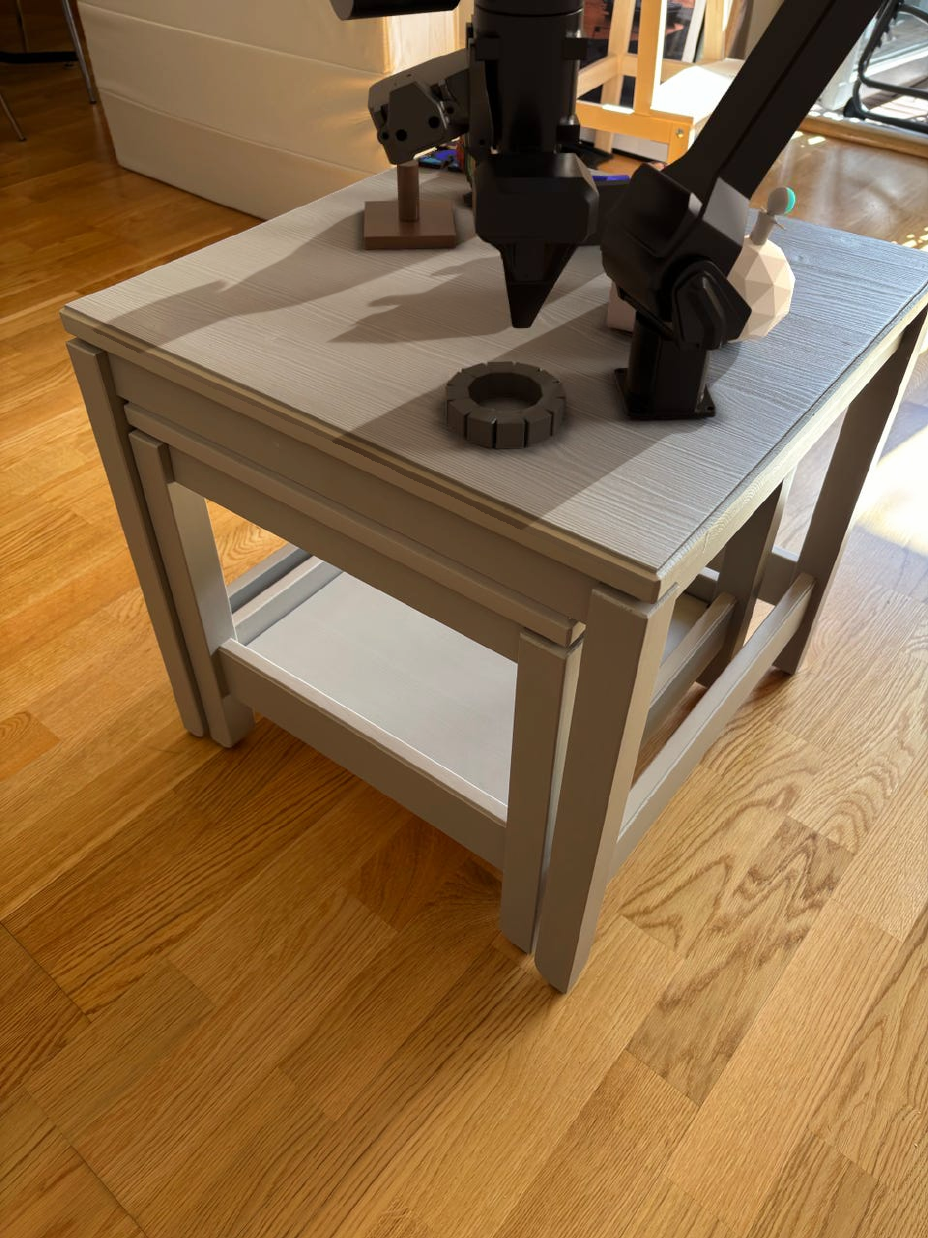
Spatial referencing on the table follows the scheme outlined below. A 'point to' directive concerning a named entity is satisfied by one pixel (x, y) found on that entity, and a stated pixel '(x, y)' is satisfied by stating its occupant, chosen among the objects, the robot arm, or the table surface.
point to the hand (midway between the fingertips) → (514, 291)
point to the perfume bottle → (764, 270)
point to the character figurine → (610, 200)
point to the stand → (409, 217)
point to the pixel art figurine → (443, 157)
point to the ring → (508, 425)
